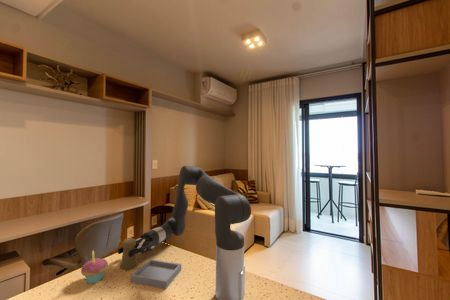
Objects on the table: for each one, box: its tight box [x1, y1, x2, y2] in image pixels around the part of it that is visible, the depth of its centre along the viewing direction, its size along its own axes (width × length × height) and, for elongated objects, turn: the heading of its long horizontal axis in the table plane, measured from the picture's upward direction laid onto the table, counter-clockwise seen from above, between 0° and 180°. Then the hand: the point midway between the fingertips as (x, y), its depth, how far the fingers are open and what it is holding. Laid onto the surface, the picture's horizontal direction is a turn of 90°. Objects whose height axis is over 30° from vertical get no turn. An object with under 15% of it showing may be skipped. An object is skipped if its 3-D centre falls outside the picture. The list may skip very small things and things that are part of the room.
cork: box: [120, 237, 138, 271], centre depth 88 cm, size 6×6×11 cm
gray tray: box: [130, 258, 182, 290], centre depth 81 cm, size 14×12×2 cm
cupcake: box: [80, 250, 109, 284], centre depth 79 cm, size 9×8×12 cm
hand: (123, 253), depth 86 cm, fingers open, 5 cm apart
